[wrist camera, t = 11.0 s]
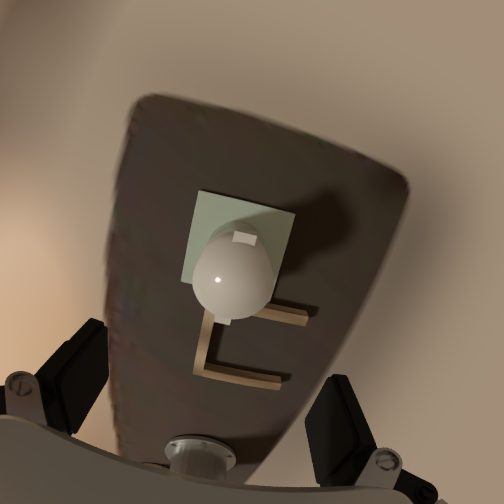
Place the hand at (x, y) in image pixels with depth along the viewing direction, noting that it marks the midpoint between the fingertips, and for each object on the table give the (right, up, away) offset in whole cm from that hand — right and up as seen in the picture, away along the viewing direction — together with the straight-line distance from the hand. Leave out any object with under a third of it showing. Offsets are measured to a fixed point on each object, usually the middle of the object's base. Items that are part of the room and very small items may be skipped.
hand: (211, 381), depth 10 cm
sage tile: (0, +6, +19) cm, 20 cm away
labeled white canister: (0, +5, +19) cm, 20 cm away
